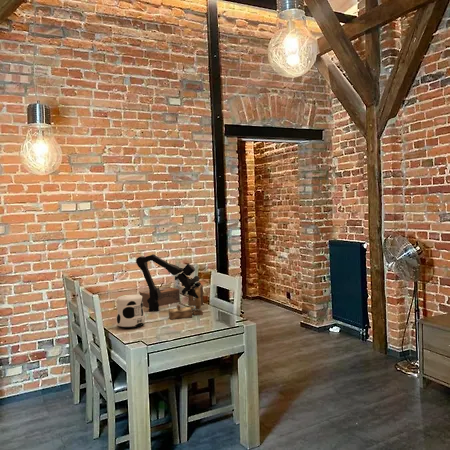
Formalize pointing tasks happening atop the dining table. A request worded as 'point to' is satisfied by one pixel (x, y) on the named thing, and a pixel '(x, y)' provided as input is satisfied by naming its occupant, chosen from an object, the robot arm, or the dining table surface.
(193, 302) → the wooden block
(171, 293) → the tissue box cover
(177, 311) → the lid
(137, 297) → the milk container
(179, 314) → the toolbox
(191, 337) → the dining table surface
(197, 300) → the key peg
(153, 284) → the robot arm
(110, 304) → the dining table surface
